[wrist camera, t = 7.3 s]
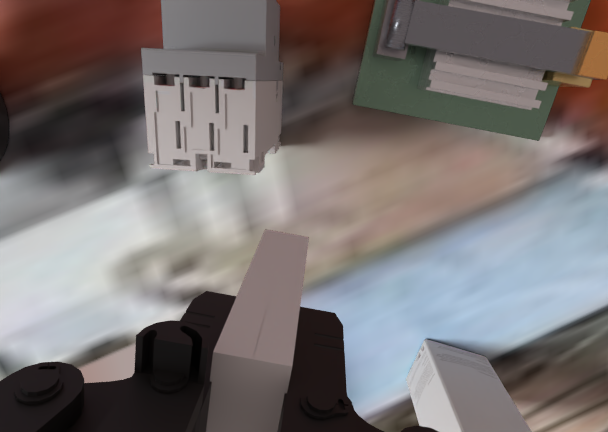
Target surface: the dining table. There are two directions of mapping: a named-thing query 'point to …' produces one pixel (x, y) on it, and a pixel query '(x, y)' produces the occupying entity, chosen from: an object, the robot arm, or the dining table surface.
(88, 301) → the dining table surface
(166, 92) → the circuit breaker
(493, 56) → the silver elongated bar
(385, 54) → the circuit board
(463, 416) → the skincare box
